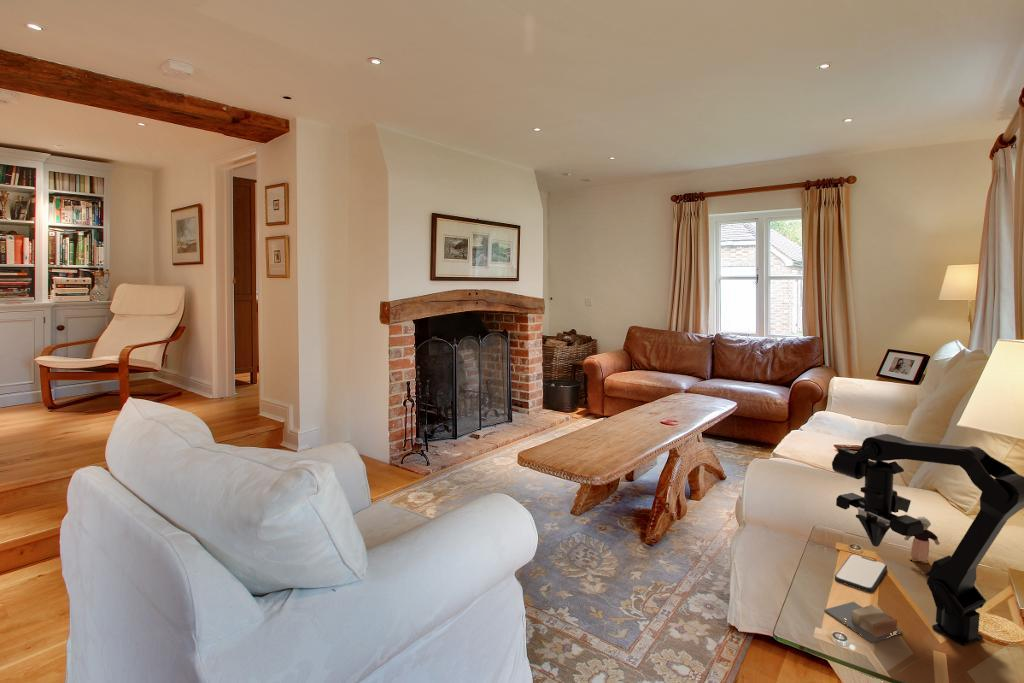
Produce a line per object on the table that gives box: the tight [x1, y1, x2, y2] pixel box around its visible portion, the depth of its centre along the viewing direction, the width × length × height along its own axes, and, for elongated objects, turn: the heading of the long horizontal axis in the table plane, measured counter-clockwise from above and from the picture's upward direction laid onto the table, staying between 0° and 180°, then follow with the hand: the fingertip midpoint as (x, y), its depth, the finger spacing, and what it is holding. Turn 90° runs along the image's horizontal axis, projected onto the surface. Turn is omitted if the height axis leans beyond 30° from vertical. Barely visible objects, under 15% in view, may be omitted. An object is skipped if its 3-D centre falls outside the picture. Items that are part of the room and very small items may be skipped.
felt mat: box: [823, 601, 903, 644], centre depth 123 cm, size 12×9×1 cm
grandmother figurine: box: [903, 516, 941, 565], centre depth 147 cm, size 8×4×13 cm, turn 73°
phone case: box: [834, 553, 888, 593], centre depth 142 cm, size 9×2×16 cm
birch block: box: [852, 604, 898, 637], centre depth 121 cm, size 3×6×6 cm
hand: (875, 545), depth 133 cm, fingers closed
